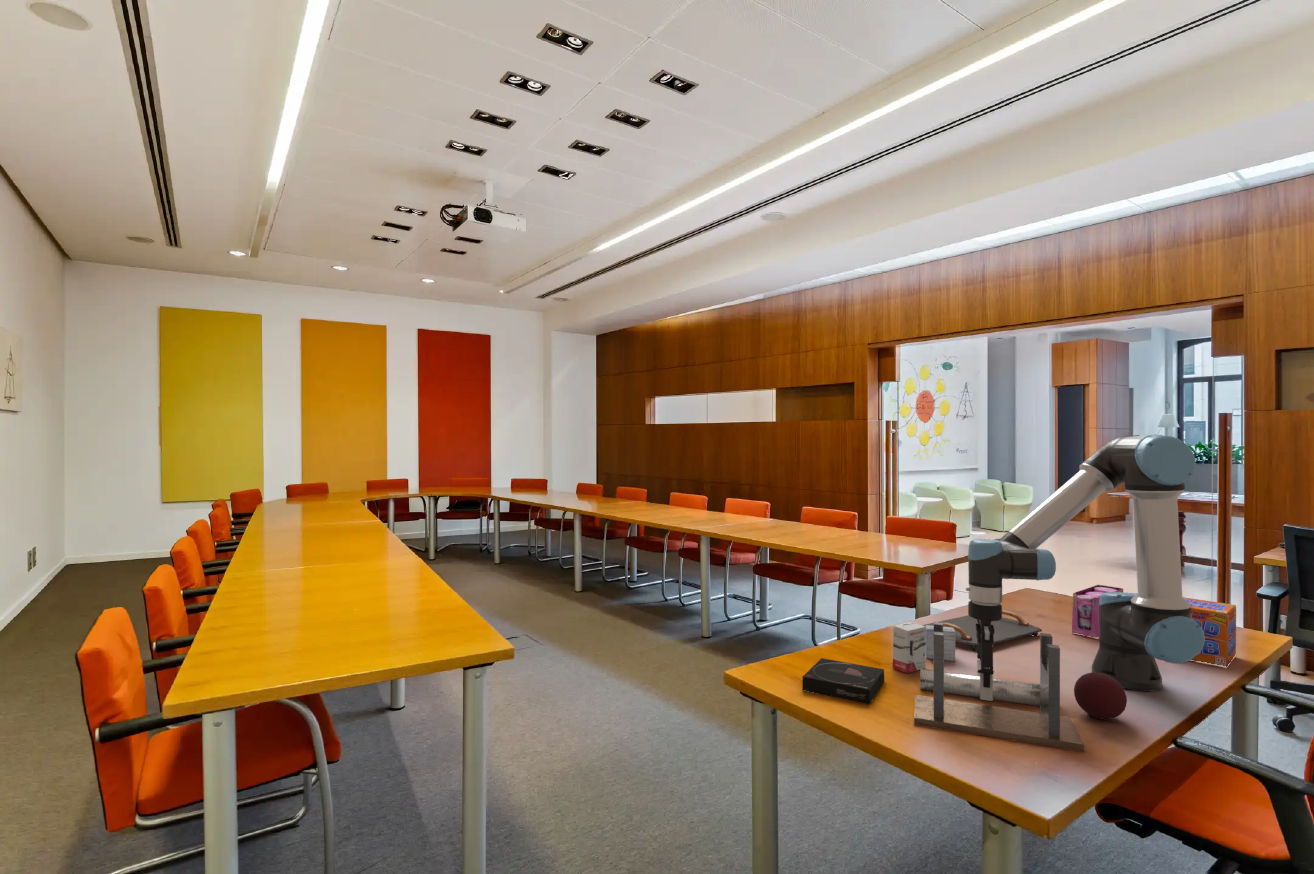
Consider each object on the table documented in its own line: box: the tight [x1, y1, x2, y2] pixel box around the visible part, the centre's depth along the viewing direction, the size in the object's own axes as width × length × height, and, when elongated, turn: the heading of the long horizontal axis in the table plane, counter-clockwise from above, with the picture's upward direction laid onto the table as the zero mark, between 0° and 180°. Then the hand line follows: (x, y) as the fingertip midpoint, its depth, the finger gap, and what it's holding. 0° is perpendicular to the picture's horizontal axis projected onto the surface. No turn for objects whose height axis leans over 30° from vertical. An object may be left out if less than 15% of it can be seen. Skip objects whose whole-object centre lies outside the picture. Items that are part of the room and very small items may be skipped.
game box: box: [1182, 596, 1237, 667], centre depth 190 cm, size 16×16×16 cm
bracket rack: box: [913, 621, 1085, 753], centre depth 143 cm, size 32×14×20 cm, turn 67°
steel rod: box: [919, 668, 1040, 707], centre depth 159 cm, size 30×5×5 cm
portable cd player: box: [801, 657, 885, 705], centre depth 165 cm, size 16×17×4 cm
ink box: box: [892, 621, 926, 674], centre depth 179 cm, size 8×5×12 cm, turn 123°
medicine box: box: [925, 624, 956, 662], centre depth 188 cm, size 8×4×9 cm, turn 71°
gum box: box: [1071, 584, 1124, 637], centre depth 215 cm, size 24×8×14 cm, turn 127°
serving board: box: [922, 609, 1043, 652], centre depth 210 cm, size 39×23×6 cm, turn 121°
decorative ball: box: [1073, 672, 1128, 720], centre depth 147 cm, size 10×10×10 cm
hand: (984, 692), depth 161 cm, fingers open, 9 cm apart
